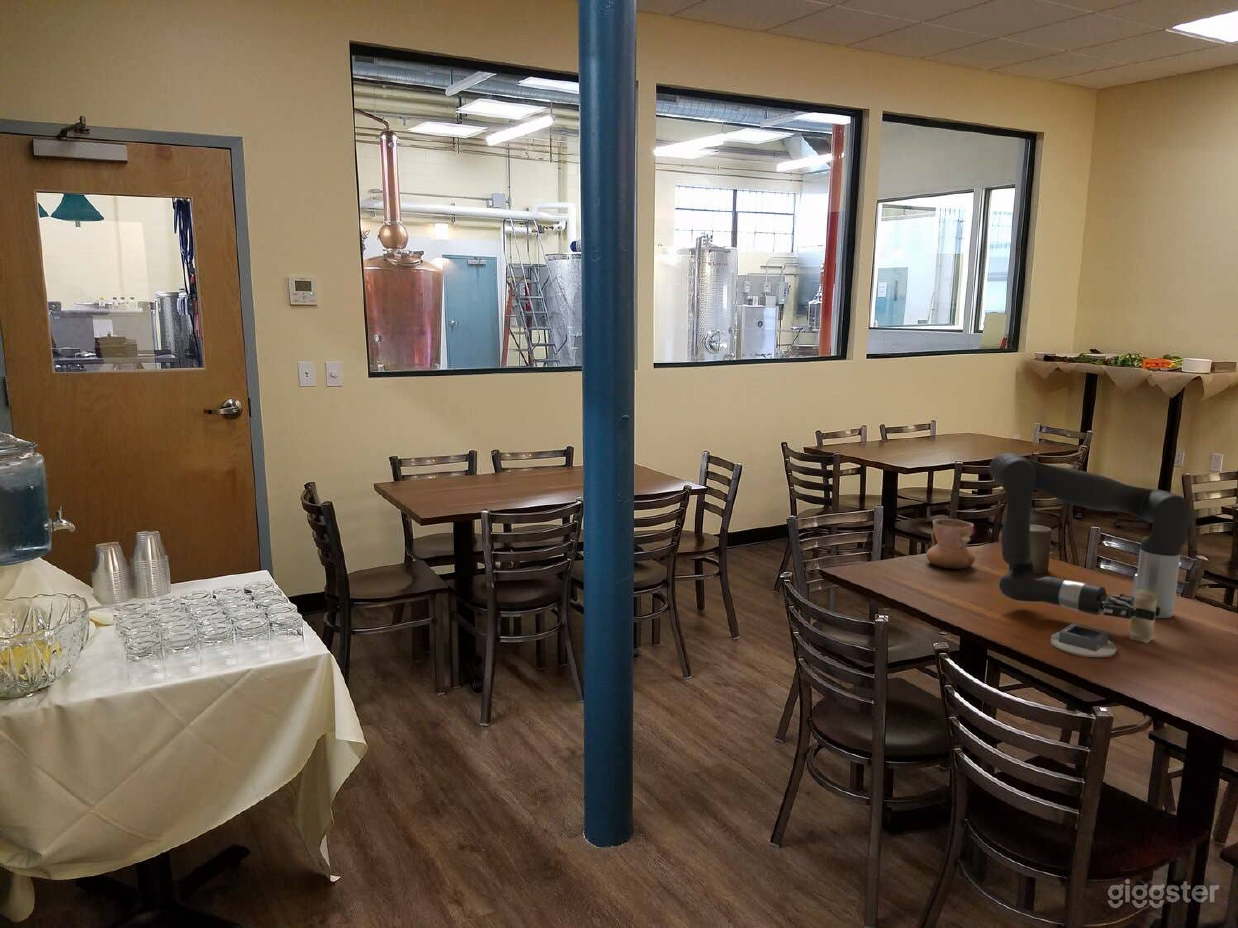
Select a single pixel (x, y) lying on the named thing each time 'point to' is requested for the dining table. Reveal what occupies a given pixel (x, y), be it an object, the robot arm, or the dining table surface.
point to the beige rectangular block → (1140, 626)
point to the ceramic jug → (951, 544)
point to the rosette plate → (1084, 641)
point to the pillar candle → (1040, 547)
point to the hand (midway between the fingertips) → (1156, 613)
